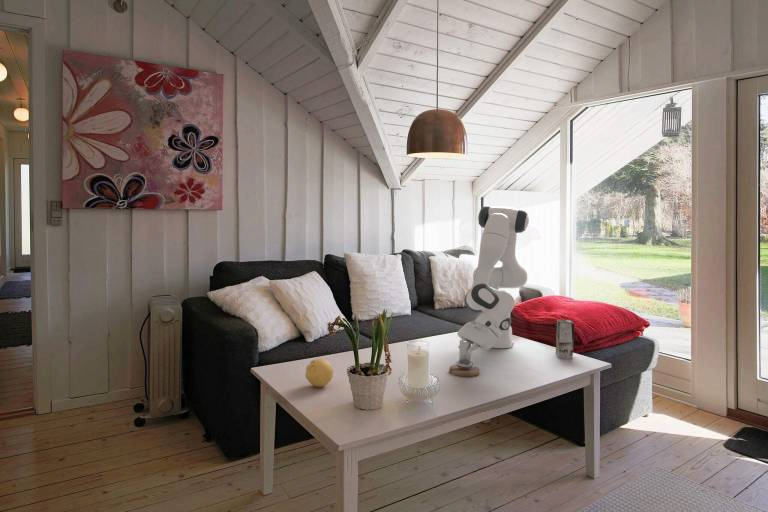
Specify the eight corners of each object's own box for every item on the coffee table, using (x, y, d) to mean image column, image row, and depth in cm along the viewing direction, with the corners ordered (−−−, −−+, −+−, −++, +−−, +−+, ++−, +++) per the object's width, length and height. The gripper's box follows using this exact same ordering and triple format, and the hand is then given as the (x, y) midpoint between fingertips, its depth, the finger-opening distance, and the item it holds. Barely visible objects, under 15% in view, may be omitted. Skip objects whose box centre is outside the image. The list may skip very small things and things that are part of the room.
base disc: (443, 369, 207) (443, 365, 207) (469, 366, 212) (469, 363, 212) (459, 378, 196) (459, 374, 196) (485, 375, 201) (485, 371, 200)
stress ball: (334, 386, 187) (321, 364, 192) (341, 371, 181) (327, 349, 186) (310, 395, 182) (298, 373, 186) (317, 381, 175) (303, 358, 180)
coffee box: (573, 359, 226) (575, 323, 224) (557, 358, 227) (559, 322, 225) (569, 353, 234) (571, 319, 233) (555, 352, 236) (556, 318, 234)
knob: (453, 364, 205) (454, 339, 205) (467, 362, 208) (468, 338, 207) (461, 368, 200) (462, 343, 199) (475, 367, 202) (476, 342, 201)
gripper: (467, 315, 214) (446, 339, 211) (495, 325, 195) (472, 352, 193) (475, 324, 216) (455, 349, 214) (504, 335, 198) (482, 362, 195)
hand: (463, 350), depth 203 cm, fingers closed on knob, 4 cm apart
